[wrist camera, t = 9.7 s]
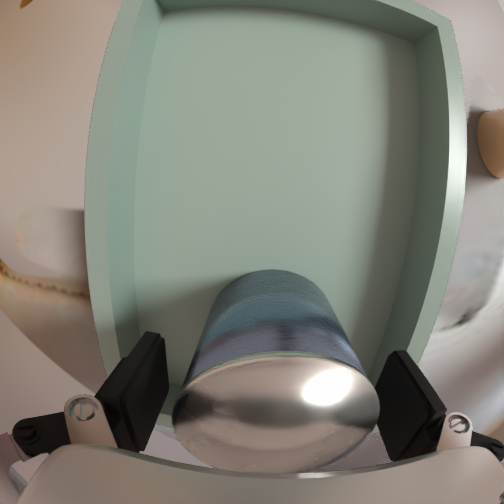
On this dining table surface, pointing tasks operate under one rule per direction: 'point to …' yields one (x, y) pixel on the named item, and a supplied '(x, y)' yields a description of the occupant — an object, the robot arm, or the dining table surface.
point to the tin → (274, 381)
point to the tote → (274, 168)
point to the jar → (492, 141)
